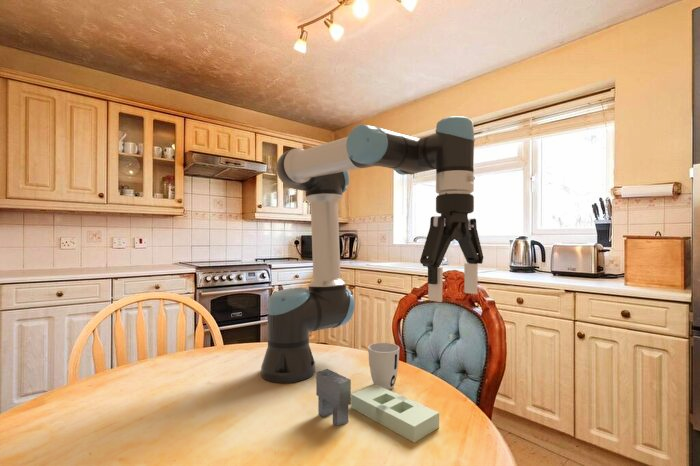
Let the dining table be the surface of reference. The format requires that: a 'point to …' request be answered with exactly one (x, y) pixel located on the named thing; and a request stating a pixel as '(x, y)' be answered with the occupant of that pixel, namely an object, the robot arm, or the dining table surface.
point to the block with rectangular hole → (396, 412)
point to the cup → (384, 364)
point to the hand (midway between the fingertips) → (454, 297)
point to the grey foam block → (333, 395)
